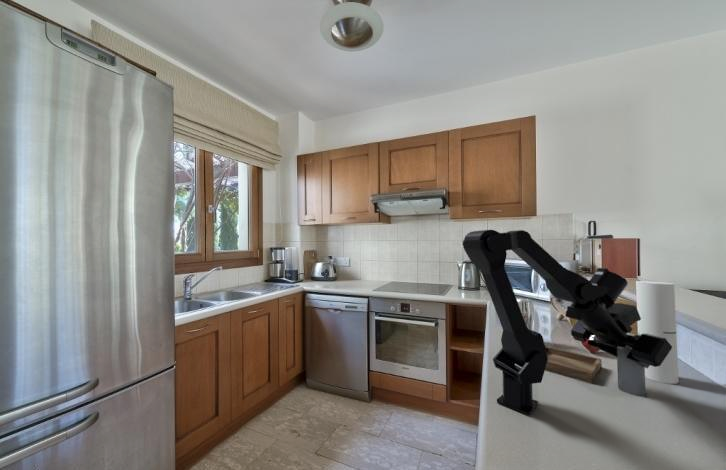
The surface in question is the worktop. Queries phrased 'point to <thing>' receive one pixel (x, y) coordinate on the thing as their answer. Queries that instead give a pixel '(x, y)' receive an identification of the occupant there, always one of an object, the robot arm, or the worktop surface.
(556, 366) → the walnut tray
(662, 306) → the cylindrical container
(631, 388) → the cylinder
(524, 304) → the beer glass
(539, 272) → the robot arm
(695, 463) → the worktop surface
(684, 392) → the worktop surface
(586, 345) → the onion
